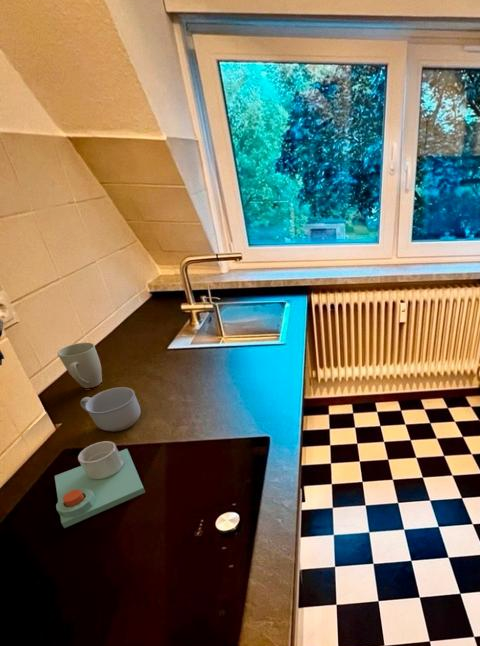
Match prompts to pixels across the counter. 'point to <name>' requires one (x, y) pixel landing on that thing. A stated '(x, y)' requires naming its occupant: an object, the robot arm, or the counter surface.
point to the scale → (97, 490)
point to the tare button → (73, 498)
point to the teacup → (113, 408)
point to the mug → (82, 363)
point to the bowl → (100, 460)
